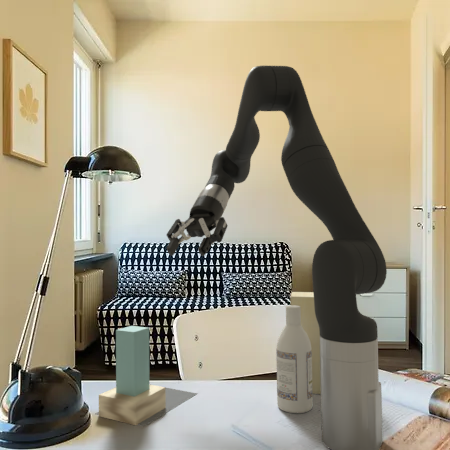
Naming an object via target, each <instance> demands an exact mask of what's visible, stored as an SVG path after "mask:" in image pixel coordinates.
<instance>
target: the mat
mask: <svg viewBox="0 0 450 450" xmlns="http://www.w3.org/2000/svg"><path fill="white" fill-rule="evenodd" d="M164 387H165V386H164ZM165 394H166V408H164V409H163V410H161V411H159V412H158V413H156V414H154V415H153V416H151V417H149V418H147V419H146V420H144V421H142V422H141V423H139V424H137V425H136V426H142V427H145V426H147V425H149V424H150V423H151V422H153V421H155V420H157V419H158V418H160V417H162V416H164V415H165V414H167V413H168V412H170V411H171V410H173V409H175V408H177V407H178V406H180V405H182V404H183V403H185V402H186V401H189V400H190V399H191V398H193V397H194V396H196V395H197V394H198V393H196V392H192V391H186V390H181V389H175V388H171V387H170V388H169V387H165ZM94 415H98V416H99V411H98V412H96V413H95V414H94Z"/></svg>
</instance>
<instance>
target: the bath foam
mask: <svg viewBox="0 0 450 450" xmlns="http://www.w3.org/2000/svg"><path fill="white" fill-rule="evenodd" d="M275 355H276V396H277V397H276V400H277V403H276V404H277V406H278V408H279V409H280V410H282V411H283V412H285V413H286V412H287V413H291V414H304V413H307V412H309V411H311V410H312V409H313V403H314V401H313V397H314V396H313V395H314V394H312V349H311V343H310V339H309V337H308V335H307V333H306V332H305V330H304V329H303V327H302V326H301V308H300V306H296V305H286V306H285V325H284V327H283V329H282V330H281V331H280V334H279V336H278V338H277V342H276V354H275Z"/></svg>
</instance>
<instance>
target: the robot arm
mask: <svg viewBox="0 0 450 450" xmlns="http://www.w3.org/2000/svg"><path fill="white" fill-rule="evenodd" d="M244 81H245V82H244V85H243V90H242V94H241V99H240V103H239V107H238V112H237V117H236V121H235V125H234V129H233V131H232V133H231V135H230V137H229V140H228V142H227V145H226V146H225V149H222V150H219V151H218V152H217V153H216V154H215V155H214V157H213V159H212V164H211V173H210V176H209V179H208V180H207V183H206V184H205V186H204V187H203V189H202V190H201V192H199V195H198V196H197V198H196V199H195V201H194V203H193V205H192V207H191V209H190V210H189V216H188V218H187V219H185V221H181V219H180V218H177V219H175V221H174V222H173V224H172V225H171V227H170V229H169V230H168V231H167V233H166V237H167V239H168V241H169V242H168V244H167V246H166V251H167V253H168V254H169V256H174V255H175V254H176V251H177V250H178V247H179V246H180V244H181V243H183V242H184V241H189V240H190V239H191V238H196V237H197V238H203V239H202V241H201V242H200V245H199V247H198V248H197V251H198V252H199V255H200V256H203V257H204V256H205V255H206V254H207V253H208V252H209V250H210V248H211V246H212V245H213V244H214V243H216V242H217V243H222V241H223V239H224V236H225V233H226V231H227V229H228V223H227V221H226V219H225V217H223V214H224V213H225V210H226V208H227V206H228V202H229V200H230V199H231V196H232V194H233V192H234V190H235V184H242V183H244V182H245V181H246V180H247V178H248V177H249V174H250V172H251V160H252V156H253V154H254V152H255V151H256V149H257V147H258V145H259V142H260V138H261V137H260V136H261V134H260V128H259V127H258V124H257V122H256V118H255V117H256V115H257V114H259V112H282V113H283V114H284V115H285V116H286V119H287V121H288V125H289V126H288V127H289V129H288V131H287V135H286V138H285V141H284V144H283V147H282V150H281V157H280V161H281V165H282V168H283V171H284V173H285V176H286V180H287V181H288V183H289V187H290V188H291V190H292V191H293V194H294V195H295V197H297V199H299V201H301V202H302V204H303V205H305V207H306V208H307V209H308V210H309V211H310V212H312V213H313V215H315V216H316V217H317V218H318V220H320V221H321V223H323V225H324V226H325V227H326V229H327V231H328V232H329V234H330V236H331V238H332V239H329V240H326V241H323V242H321V243H320V244H319V245H318V246H317V248H316V249H315V252H314V254H313V257H312V264H311V266H312V268H311V276H312V277H311V278H312V280H311V281H312V290H313V291H312V292H313V293H314V308H315V315H316V319H317V322H318V324H319V331H320V381H321V394H320V418H321V419H320V420H321V423H320V424H321V425H320V428H321V429H320V430H321V441H322V443H323V445H324V446H326V448H328V447H329V449H330V450H331V449H332V450H380V449H381V446H382V443H383V440H384V439H383V437H384V435H383V432H384V431H383V403H382V402H383V400H382V399H383V397H382V382H381V381H380V380H379V346H378V345H379V343H378V334H379V333H378V323H377V322H376V320H375V319H374V318H372V317H370V316H368V315H367V316H366V315H364V314H363V313H361V312H360V311H359V308H358V301H357V295H364V294H370V293H375V292H376V291H378V290H380V289H381V288H382V287H383V285H385V282H386V279H387V273H388V272H387V262H386V259H385V255H384V253H383V251H382V249H381V247H380V246H379V243H378V242H377V240H376V238H375V237H374V235H373V233H372V232H371V229H369V227H368V226H367V224H366V222H365V221H364V219H363V217H362V215H361V214H360V212H359V210H358V209H357V207H356V204H355V203H354V201H353V199H352V197H351V195H350V193H349V191H348V188H347V186H346V184H345V182H344V180H343V178H342V175H340V172H339V169H338V167H337V165H336V162H335V160H334V157H333V156H332V155H333V154H331V151H330V149H329V147H328V145H327V143H326V142H325V139H324V138H323V135H322V133H321V130H320V128H319V126H318V123H317V122H316V121H317V120H316V119H315V117H314V115H313V111H312V108H311V106H310V102H309V100H308V97H307V94H306V89H305V87H304V84H303V82H302V79H301V77H300V75H299V73H298V72H297V70H296V69H294V67H291V66H287V65H257V66H253V67H252V68H251V70H249V72H248V74H247V77H246V79H245V80H244ZM185 231H186V233H187V234H186V233H185ZM211 231H213V233H212V234H211ZM179 236H181V237H179ZM178 237H179V238H178Z"/></svg>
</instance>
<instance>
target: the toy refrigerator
mask: <svg viewBox="0 0 450 450" xmlns="http://www.w3.org/2000/svg"><path fill="white" fill-rule="evenodd" d="M289 299H290V300H289V301H290V302H289V303H290V305H296V306H300V308H301V326H302V327H303V329H304V330H305V332H306V333H307V335H308V337H309V339H310V343H311V349H312V395H321V381H320V331H319V324H318V322H317V319H316V315H315V308H314V293H313V291H312V292H311V291H291V293H290V298H289ZM290 305H289V306H290Z"/></svg>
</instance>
